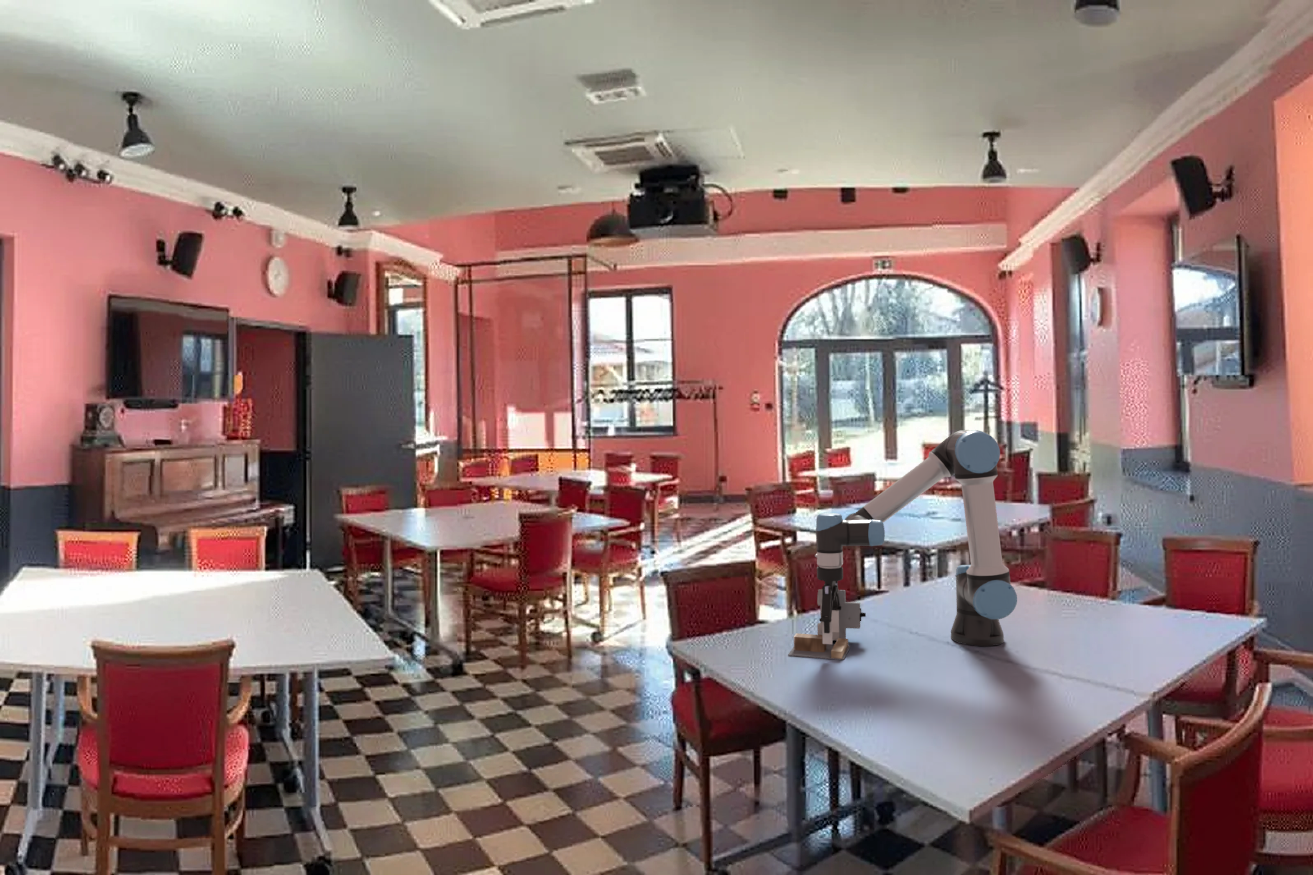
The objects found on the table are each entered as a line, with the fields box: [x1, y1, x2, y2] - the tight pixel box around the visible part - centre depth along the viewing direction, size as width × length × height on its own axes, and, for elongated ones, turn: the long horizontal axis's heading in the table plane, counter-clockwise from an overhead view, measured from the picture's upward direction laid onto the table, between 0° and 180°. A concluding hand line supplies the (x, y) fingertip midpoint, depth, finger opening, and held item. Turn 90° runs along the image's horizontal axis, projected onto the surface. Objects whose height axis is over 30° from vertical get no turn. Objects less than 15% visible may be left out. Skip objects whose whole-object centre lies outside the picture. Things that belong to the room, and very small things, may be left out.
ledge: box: [831, 638, 849, 659], centre depth 248 cm, size 3×14×2 cm, turn 160°
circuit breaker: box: [816, 588, 867, 641], centre depth 261 cm, size 8×14×15 cm, turn 75°
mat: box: [787, 643, 851, 661], centre depth 250 cm, size 16×14×1 cm
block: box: [793, 632, 826, 652], centre depth 251 cm, size 4×4×9 cm
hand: (831, 637), depth 249 cm, fingers open, 13 cm apart
